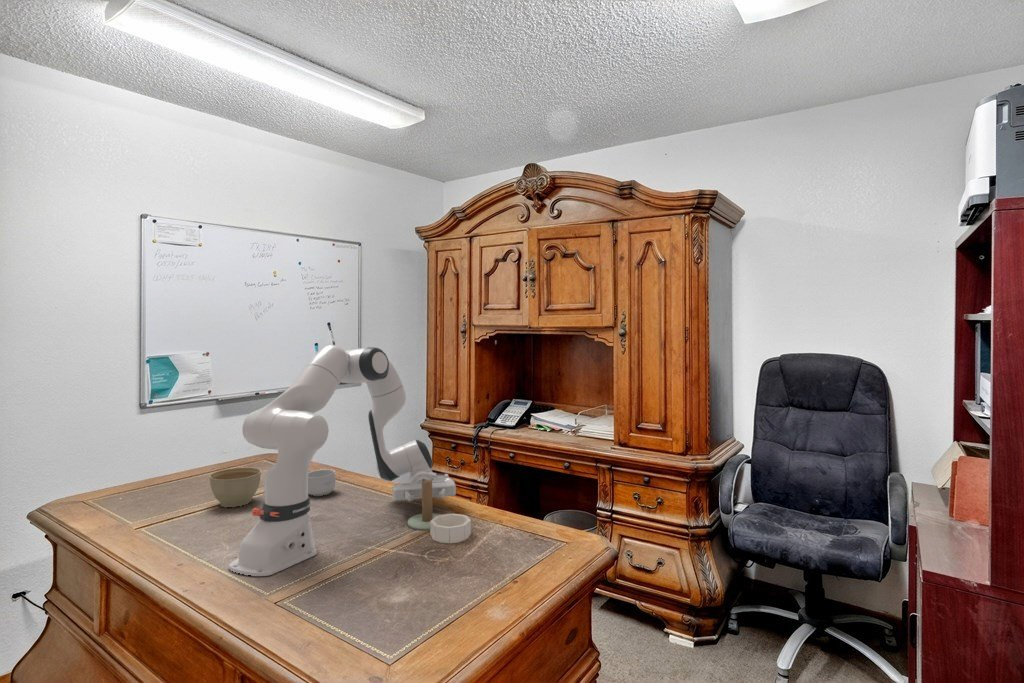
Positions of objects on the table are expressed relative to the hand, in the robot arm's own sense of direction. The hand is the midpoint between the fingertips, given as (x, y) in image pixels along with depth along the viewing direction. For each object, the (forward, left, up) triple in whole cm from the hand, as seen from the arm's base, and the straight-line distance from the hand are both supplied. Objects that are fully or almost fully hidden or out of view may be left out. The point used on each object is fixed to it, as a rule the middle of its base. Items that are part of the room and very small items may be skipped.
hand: (426, 497), depth 170 cm
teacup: (+14, +52, -8) cm, 54 cm away
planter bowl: (-6, +72, -8) cm, 72 cm away
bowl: (-9, -13, -8) cm, 17 cm away
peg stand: (-2, -1, -7) cm, 8 cm away
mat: (-2, -1, -8) cm, 8 cm away
